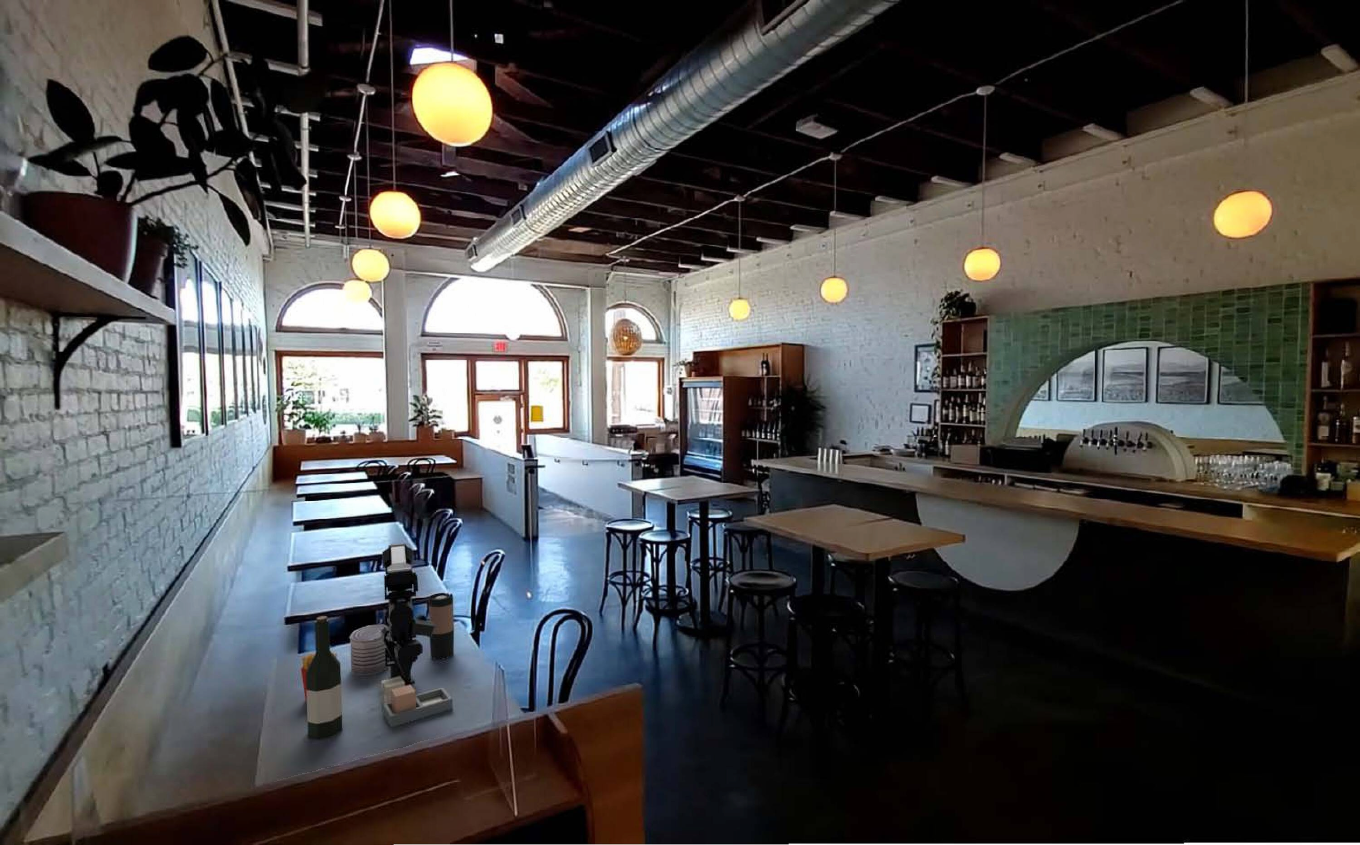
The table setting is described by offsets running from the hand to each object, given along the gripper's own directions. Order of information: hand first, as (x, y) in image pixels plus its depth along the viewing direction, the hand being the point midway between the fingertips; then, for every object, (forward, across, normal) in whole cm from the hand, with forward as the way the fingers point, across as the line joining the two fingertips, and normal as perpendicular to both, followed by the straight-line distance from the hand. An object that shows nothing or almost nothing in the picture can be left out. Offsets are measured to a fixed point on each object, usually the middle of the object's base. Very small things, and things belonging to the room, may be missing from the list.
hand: (402, 671), depth 175 cm
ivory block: (+12, +10, 0) cm, 16 cm away
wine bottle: (+13, +4, +18) cm, 22 cm away
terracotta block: (+11, 0, 0) cm, 11 cm away
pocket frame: (+12, 0, -4) cm, 13 cm away
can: (+13, +38, 0) cm, 40 cm away
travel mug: (+13, +34, -21) cm, 42 cm away
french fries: (+13, +25, +16) cm, 32 cm away
